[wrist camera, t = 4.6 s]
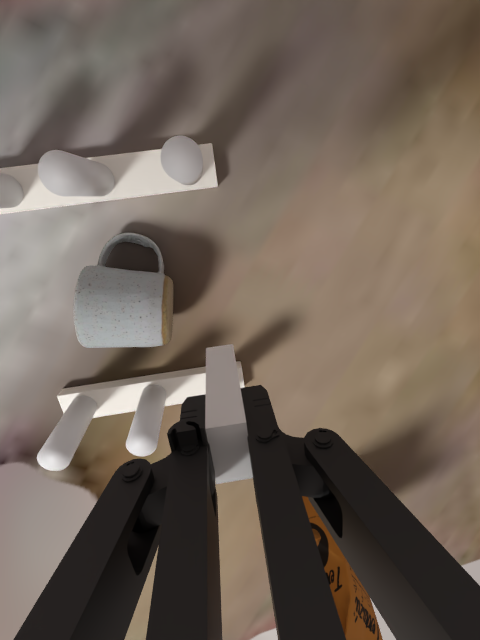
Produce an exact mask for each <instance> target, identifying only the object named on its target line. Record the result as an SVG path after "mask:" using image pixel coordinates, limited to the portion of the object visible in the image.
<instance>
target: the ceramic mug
mask: <svg viewBox="0 0 480 640" xmlns="http://www.w3.org/2000/svg"><path fill="white" fill-rule="evenodd" d="M120 242H131V243H137V244H140V245H143V246H144V247H150V248H153V249H154V251H155V253H156V254H157V256H158V262H159V271H158V272H157V273H155V272H145V271H133V270H126V269H118V268H110V267H105V264H106V260H107V257H108V255H109V254H110V252H111V250H112V249H113V248H114V247H115V245H117V244H118V243H120ZM172 322H173V281H172V279H171V278H170V277H168V276H166V275H164V263H163V258H162V255H161V252H160V250H159V248H158V246H157V245H156V244H155V243H154V242H153V241H152V240H151V239H149V238H148V237H146V236H144V235H141V234H137V233H121V234H118V235H116V236H114V237H113V238H112V239H111V240H109V241H108V243H107V244H106V245H105V246H104V248H103V250H102V252H101V254H100V257H99V261H98V265H97V266H86V267H85V268H84V269H83V270H82V271H81V273H80V275H79V278H78V282H77V285H76V290H75V298H74V324H75V330H76V335H77V339H78V341H79V342H80V344H81V345H82V346H84V347H87V348H95V347H155V346H161V345H165V344H167V343H168V342H169V341H170V340H171V336H172Z"/></svg>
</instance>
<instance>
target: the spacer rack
mask: <svg viewBox="0 0 480 640" xmlns="http://www.w3.org/2000/svg"><path fill="white" fill-rule="evenodd" d="M214 187H218V184H217V177H216V169H215V162H214V154H213V147H212V143H208V144H200V145H197V143H196V142H195V141H193V140H192V139H191V138H189V137H186V136H182V135H178V136H174V137H171V138H170V139H168V140H167V141H166V142H165V144H164V145H163V147H162V149H157V150H149V151H141V152H132V153H124V154H115V155H107V156H98V157H90V158H84V157H80V156H77V155H74V154H71V153H68V152H65V151H61V150H51V151H48V152H46V153H45V154H44V155H43V156H42V157H41V159H40V161H39V164H31V165H22V166H14V167H6V168H0V214H7V213H15V212H23V211H31V210H39V209H47V208H55V207H63V206H71V205H79V204H87V203H95V202H103V201H110V200H118V199H126V198H134V197H142V196H150V195H158V194H166V193H174V192H182V191H190V190H198V189H206V188H214ZM236 365H237V371H238V377H239V382H240V388H245V387H244V380H243V372H242V366H241V361H237V362H236ZM204 394H206V366H205V367H199V368H192V369H186V370H179V371H173V372H167V373H160V374H154V375H147V376H141V377H134V378H128V379H122V380H115V381H109V382H102V383H96V384H89V385H83V386H77V387H70V388H64V389H62V390H61V391H60V393H59V394H58V395H57V398H58V400H59V403H60V405H61V408H62V410H63V413H64V414H63V416H62V418H61V419H60V421H59V422H58V424H57V425H56V427H55V428H54V430H53V431H52V433H51V435H50V436H49V438H48V439H47V441H46V442H45V444H44V445H43V447H42V449H41V450H40V452H39V453H38V455H37V460H38V463H39V464H40V465H41V466H42V467H43V468H45V469H47V470H51V471H59V470H63V469H65V468H66V467H67V466H68V465H69V463H70V461H71V459H72V457H73V455H74V453H75V451H76V449H77V447H78V445H79V443H80V441H81V439H82V437H83V435H84V433H85V431H86V429H87V427H88V426H89V424H90V422H91V420H92V418H95V417H101V416H107V415H113V414H120V413H126V412H132V411H136V413H135V416H134V419H133V422H132V425H131V428H130V431H129V435H128V438H127V441H126V447H127V449H128V451H129V452H130V453H132V454H134V455H136V456H147V455H150V454H152V453H153V452H154V451H155V450H156V447H157V443H158V438H159V432H160V427H161V422H162V417H163V411H164V406H169V405H175V404H182V403H183V402H184V401H185V399H186V398H187V397H191V396H198V395H204Z"/></svg>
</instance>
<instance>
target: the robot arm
mask: <svg viewBox="0 0 480 640" xmlns="http://www.w3.org/2000/svg"><path fill="white" fill-rule="evenodd" d="M167 435H168V439H169V443H170V447H171V451H172V453H171V454H170V455H168V456H167V457H166V458H164V459H162V460H160V461H158V462H155V463H153V464H151V465H150V463H149V462H148V461H147V460H145V459H133V460H131V461H128V462H126V463H124V464H123V465H122V466H120V467H119V468H118V469H117V471H116V472H115V473H114V475H113V476H112V478H111V480H110V481H109V483H108V485H107V486H106V488H105V490H104V491H103V493H102V495H101V496H100V498H99V500H98V501H97V503H96V505H95V506H94V508H93V510H92V511H91V513H90V514H89V516H88V518H87V520H86V521H85V523H84V524H83V526H82V528H81V529H80V531H79V533H78V534H77V536H76V537H75V539H74V541H73V542H72V544H71V546H70V548H69V549H68V551H67V552H66V554H65V556H64V557H63V559H62V561H61V562H60V564H59V566H58V568H57V569H56V570H55V572H54V574H53V576H52V577H51V579H50V580H49V582H48V584H47V585H46V587H45V589H44V590H43V592H42V594H41V595H40V597H39V598H38V600H37V602H36V603H35V605H34V607H33V609H32V610H31V612H30V613H29V615H28V617H27V618H26V620H25V622H24V623H23V625H22V627H21V629H20V630H19V632H18V633H17V635H16V637H15V638H14V640H124V639H125V636H126V633H127V630H128V628H129V625H130V622H131V619H132V617H133V614H134V611H135V608H136V606H137V603H138V600H139V597H140V595H141V592H142V589H143V586H144V584H145V581H146V578H147V575H148V573H149V570H150V567H151V564H152V562H153V559H154V556H155V553H156V551H157V548H158V545H159V548H158V555H157V562H156V570H155V577H154V584H153V592H152V599H151V606H150V613H149V621H148V628H147V635H146V640H222V619H221V590H220V562H219V533H218V505H217V493H216V488H215V481H216V484H220V483H226V482H232V481H238V480H244V479H250V478H253V481H254V488H255V495H256V502H257V507H258V514H259V520H260V526H261V533H262V539H263V546H264V552H265V558H266V565H267V571H268V578H269V584H270V590H271V597H272V603H273V609H274V616H275V622H276V629H277V635H278V640H346V637H345V634H344V631H343V627H342V624H341V621H340V618H339V615H338V611H337V608H336V605H335V602H334V598H333V595H332V592H331V589H330V585H329V582H328V579H327V576H326V573H325V569H324V566H323V563H322V560H321V556H320V553H319V550H318V547H317V543H316V540H315V537H314V534H313V531H312V527H311V524H310V521H309V518H308V514H307V511H306V508H305V505H304V502H303V498H302V496H305V497H308V499H309V501H310V503H311V504H312V506H313V507H314V509H315V511H316V512H317V514H318V515H319V517H320V519H321V520H322V522H323V523H324V525H325V527H326V528H327V530H328V531H329V533H330V534H331V536H332V538H333V539H334V541H335V542H336V544H337V546H338V547H339V549H340V550H341V552H342V554H343V555H344V557H345V558H346V560H347V562H348V563H349V565H350V566H351V568H352V569H353V571H354V573H355V574H356V576H357V577H358V579H359V581H360V582H361V584H362V585H363V587H364V589H365V590H366V592H367V593H368V595H369V597H370V598H371V599H372V601H373V603H374V605H375V606H376V608H377V609H378V611H379V612H380V614H381V616H382V617H383V619H384V620H385V622H386V624H387V625H388V627H389V628H390V630H391V632H392V633H393V635H394V636H395V638H396V640H480V586H479V585H478V584H477V582H475V580H474V579H473V578H472V577H471V576H470V575H469V574H468V573H467V572H466V571H465V570H464V569H463V568H462V566H461V565H460V564H459V563H458V562H457V561H456V560H455V559H454V558H453V557H452V556H451V555H450V554H449V553H448V551H447V550H446V549H445V548H444V547H443V546H442V545H441V544H440V543H439V542H438V541H437V540H436V539H435V538H434V537H433V535H432V534H431V533H430V532H429V531H428V530H427V529H426V528H425V527H424V526H423V525H422V524H421V523H420V522H419V521H418V519H417V518H416V517H415V516H414V515H413V514H412V513H411V512H410V511H409V510H408V509H407V508H406V507H405V506H404V504H403V503H402V502H401V501H400V500H399V499H398V498H397V497H396V496H395V495H394V494H393V493H392V492H391V491H390V490H389V488H388V487H387V486H386V485H385V484H384V483H383V482H382V481H381V480H380V479H379V478H378V477H377V476H376V475H375V474H374V472H373V471H372V470H371V469H370V468H369V467H368V466H367V465H366V464H365V463H364V462H363V461H362V460H361V459H360V457H359V456H358V455H357V454H356V453H355V452H354V451H353V450H352V449H351V448H350V447H349V446H348V445H347V444H346V443H345V441H344V440H343V439H342V438H341V437H340V436H339V435H338V434H336V433H335V432H334V431H331V430H329V429H323V428H318V429H313V430H311V431H309V432H308V433H307V434H306V436H305V437H304V438H299V437H292V436H289V435H286V434H285V433H283V432H282V431H281V430H280V429H279V427H278V425H277V422H276V419H275V415H274V412H273V409H272V405H271V402H270V399H269V396H268V392H267V390H266V389H265V388H264V387H262V386H261V385H257V386H251V387H245V388H240V382H239V377H238V371H237V365H236V359H235V353H234V347H233V344H229V345H222V346H216V347H209V348H206V394H204V395H198V396H191V397H187V398H186V399H185V401H184V402H183V404H182V407H181V415H180V421H179V422H177V423H176V424H174V425H173V426H172V427H171V428H170V429H169V431H168V433H167Z"/></svg>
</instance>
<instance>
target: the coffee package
mask: <svg viewBox="0 0 480 640" xmlns="http://www.w3.org/2000/svg"><path fill="white" fill-rule="evenodd" d="M302 498H303V502H304V505H305V508H306V511H307V514H308V518H309V521H310V524H311V527H312V531H313V534H314V537H315V540H316V543H317V547H318V550H319V553H320V556H321V560H322V563H323V566H324V569H325V573H326V576H327V579H328V582H329V585H330V589H331V592H332V595H333V598H334V602H335V605H336V608H337V611H338V615H339V618H340V621H341V624H342V627H343V631H344V634H345V637H346V640H383V639H382V636H381V633H380V629H379V625H378V622H377V619H376V615H375V612H374V609H373V606H372V603H371V600H370V597H369V595H368V593H367V592H366V590H365V589H364V587H363V585H362V584H361V582H360V581H359V579H358V577H357V576H356V574H355V573H354V571H353V569H352V568H351V566H350V565H349V563H348V562H347V560H346V558H345V557H344V555H343V554H342V552H341V550H340V549H339V547H338V546H337V544H336V542H335V541H334V539H333V538H332V536H331V534H330V533H329V531H328V530H327V528H326V527H325V525H324V523H323V522H322V520H321V519H320V517H319V515H318V514H317V512H316V511H315V509H314V507H313V506H312V504H311V503H310V501H309V499H308V497H305V496H302Z"/></svg>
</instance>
